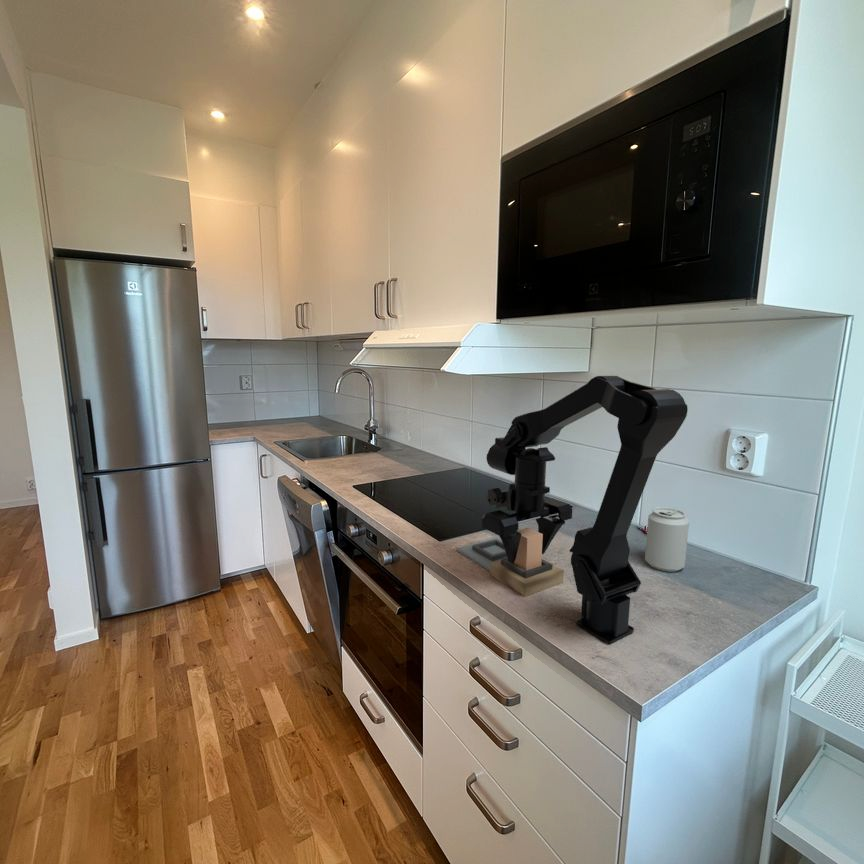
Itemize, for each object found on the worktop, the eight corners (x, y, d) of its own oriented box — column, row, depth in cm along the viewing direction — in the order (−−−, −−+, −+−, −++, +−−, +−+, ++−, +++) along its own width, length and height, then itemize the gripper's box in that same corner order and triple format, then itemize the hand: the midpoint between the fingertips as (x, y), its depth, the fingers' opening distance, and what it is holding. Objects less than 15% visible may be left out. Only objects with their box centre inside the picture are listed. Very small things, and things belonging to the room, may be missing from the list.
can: (636, 560, 98) (640, 507, 96) (662, 555, 100) (667, 503, 98) (665, 576, 91) (670, 519, 89) (692, 570, 93) (698, 514, 92)
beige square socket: (563, 582, 88) (564, 565, 87) (525, 596, 83) (525, 578, 82) (526, 563, 96) (527, 547, 96) (489, 574, 91) (490, 558, 90)
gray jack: (533, 558, 99) (533, 551, 98) (490, 571, 92) (490, 564, 92) (497, 539, 109) (497, 533, 108) (456, 550, 102) (456, 543, 102)
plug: (541, 568, 88) (542, 534, 87) (526, 573, 86) (527, 538, 85) (526, 560, 92) (528, 527, 91) (511, 565, 90) (512, 531, 89)
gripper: (535, 466, 98) (532, 534, 100) (465, 477, 88) (463, 553, 91) (576, 477, 89) (571, 553, 91) (503, 491, 79) (500, 576, 81)
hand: (526, 557), depth 89 cm, fingers open, 8 cm apart
